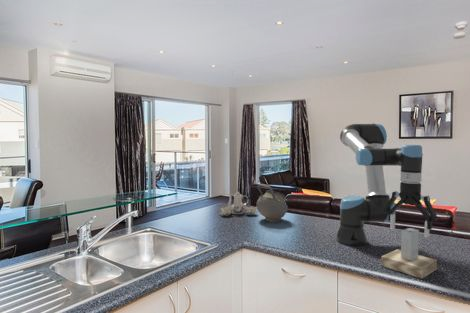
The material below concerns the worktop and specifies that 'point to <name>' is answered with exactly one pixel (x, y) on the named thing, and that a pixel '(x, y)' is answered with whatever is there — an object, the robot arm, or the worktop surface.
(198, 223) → the worktop surface
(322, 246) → the worktop surface
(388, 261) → the base block
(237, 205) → the chinaware
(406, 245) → the skincare box
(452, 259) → the worktop surface
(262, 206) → the pot
